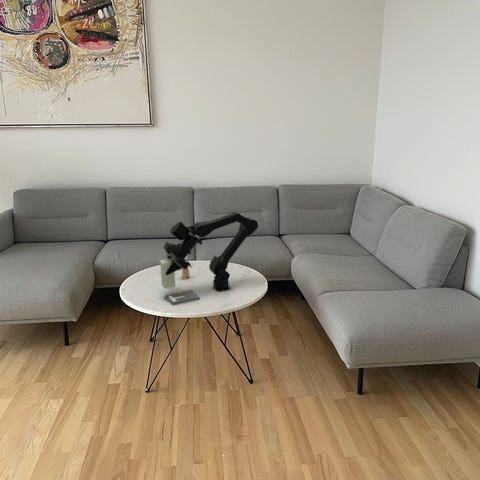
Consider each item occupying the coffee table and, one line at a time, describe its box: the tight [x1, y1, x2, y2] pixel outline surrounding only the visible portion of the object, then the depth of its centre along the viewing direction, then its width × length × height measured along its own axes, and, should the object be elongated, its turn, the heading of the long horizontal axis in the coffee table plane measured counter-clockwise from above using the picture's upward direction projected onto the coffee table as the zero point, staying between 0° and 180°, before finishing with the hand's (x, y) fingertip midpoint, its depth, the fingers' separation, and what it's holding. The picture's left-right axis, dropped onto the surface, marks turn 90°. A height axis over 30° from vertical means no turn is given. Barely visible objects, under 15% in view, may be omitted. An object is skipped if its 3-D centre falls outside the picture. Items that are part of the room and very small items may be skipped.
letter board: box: [165, 289, 201, 306], centre depth 205 cm, size 13×10×1 cm
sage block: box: [159, 258, 176, 289], centre depth 203 cm, size 5×5×12 cm
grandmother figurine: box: [178, 255, 192, 281], centre depth 228 cm, size 8×4×13 cm, turn 141°
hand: (164, 272), depth 202 cm, fingers closed on sage block, 5 cm apart
